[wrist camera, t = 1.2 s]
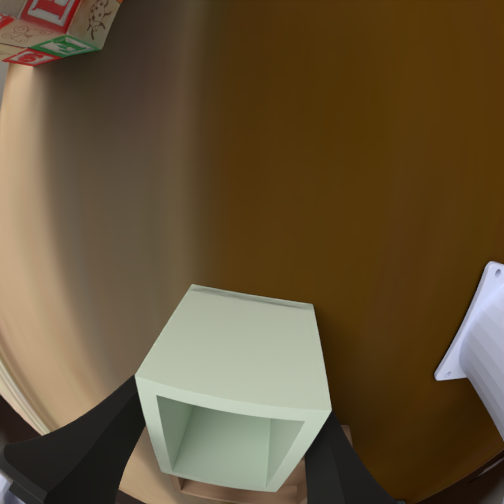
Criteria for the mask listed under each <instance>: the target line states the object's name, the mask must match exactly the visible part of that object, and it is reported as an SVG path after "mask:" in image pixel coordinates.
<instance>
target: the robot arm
mask: <svg viewBox="0 0 504 504" xmlns="http://www.w3.org/2000/svg"><path fill="white" fill-rule="evenodd" d="M434 377H435V378H436V380H448V379H457V378H465V377H468V379H469V380H470V382H471V384H472V385H473V387H474V388H475V390H476V392H477V393H478V395H479V397H480V398H481V400H482V402H483V403H484V405H485V407H486V409H487V410H488V412H489V414H490V416H491V418H492V419H493V421H494V423H495V425H496V427H497V429H498V431H499V433H500V435H501V437H502V439H503V441H504V265H503V264H500V263H496V262H493V261H492V262H489V263H488V264H487V265H486V267H485V269H484V272H483V275H482V278H481V280H480V283H479V286H478V288H477V291H476V293H475V296H474V298H473V300H472V303H471V305H470V307H469V309H468V312H467V314H466V316H465V318H464V320H463V322H462V324H461V326H460V328H459V330H458V332H457V334H456V336H455V338H454V340H453V342H452V344H451V346H450V347H449V349H448V351H447V353H446V355H445V356H444V358H443V360H442V361H441V363H440V365H439V366H438V368H437V370H436V371H435V373H434ZM145 425H146V421H145V417H144V414H143V410H142V406H141V402H140V397H139V393H138V389H137V384H136V379H135V375H132V376H131V377H130V378H129V379H128V380H127V381H126V382H125V383H123V384H122V385H121V386H120V387H119V388H118V389H117V390H115V391H114V392H113V393H112V394H111V395H109V396H108V397H107V398H106V399H104V400H103V401H102V402H101V403H99V404H98V405H97V406H96V407H94V408H93V409H91V410H90V411H88V412H87V413H86V414H84V415H83V416H81V417H79V418H78V419H76V420H75V421H73V422H71V423H69V424H67V425H66V426H64V427H62V428H59V429H57V430H55V431H53V432H51V433H48V434H46V435H43V436H40V437H37V438H34V439H31V440H27V441H23V442H18V443H13V444H7V445H6V446H4V448H3V449H2V451H1V452H0V469H1V470H2V471H3V472H4V473H5V474H6V475H8V477H10V478H11V479H12V480H13V482H12V481H10V480H9V479H7V478H6V477H5V476H4V475H3V474H2V473H0V504H114V503H115V498H116V495H117V491H118V488H119V485H120V481H121V478H122V475H123V472H124V469H125V467H126V464H127V462H128V460H129V458H130V456H131V454H132V452H133V450H134V448H135V445H136V443H137V441H138V439H139V437H140V435H141V433H142V431H143V429H144V427H145ZM304 460H305V472H306V485H307V504H399V503H398V502H397V501H395V500H394V499H393V498H392V497H391V496H390V495H389V494H388V493H387V492H386V491H385V490H384V489H383V488H382V487H381V486H380V485H379V484H378V483H377V481H376V480H375V479H374V478H373V476H372V475H371V474H370V473H369V471H368V470H367V469H366V467H365V466H364V464H363V463H362V461H361V460H360V458H359V457H358V455H357V454H356V452H355V450H354V449H353V447H352V445H351V444H350V442H349V440H348V438H347V436H346V435H345V433H344V431H343V429H342V427H341V425H340V423H339V421H338V419H337V417H336V415H335V413H334V411H333V409H332V411H331V413H330V414H329V416H328V418H327V419H326V421H325V423H324V424H323V426H322V428H321V429H320V431H319V433H318V434H317V436H316V437H315V439H314V440H313V442H312V443H311V445H310V447H309V448H308V450H307V451H306V452H305V454H304ZM502 504H504V498H503V501H502Z"/></svg>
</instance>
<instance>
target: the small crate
mask: <svg viewBox="0 0 504 504" xmlns="http://www.w3.org/2000/svg"><path fill="white" fill-rule="evenodd" d="M135 379H136V384H137V389H138V393H139V397H140V402H141V406H142V410H143V414H144V417H145V421H146V425H147V428H148V432H149V435H150V439H151V442H152V445H153V448H154V451H155V454H156V457H157V460H158V463H159V466H160V469H161V472H164V473H168V474H171V475H175V476H178V477H182V478H186V479H190V480H195V481H199V482H204V483H208V484H214V485H219V486H225V487H231V488H238V489H246V490H255V491H266V492H277V490H278V489H279V488H280V487H281V485H282V484H283V483H284V482H285V480H286V479H287V478H288V476H289V475H290V474H291V472H292V471H293V470H294V468H295V467H296V465H297V464H298V463H299V461H300V460H301V458H302V457H303V455H304V454H305V452H306V451H307V450H308V448H309V447H310V445H311V443H312V442H313V440H314V439H315V437H316V436H317V434H318V433H319V431H320V429H321V428H322V426H323V424H324V423H325V421H326V419H327V418H328V416H329V414H330V413H331V411H332V408H331V402H330V395H329V389H328V383H327V377H326V371H325V366H324V360H323V354H322V349H321V344H320V338H319V333H318V328H317V323H316V318H315V313H314V308H313V304H308V303H301V302H294V301H287V300H281V299H274V298H268V297H262V296H256V295H250V294H244V293H238V292H232V291H226V290H221V289H215V288H210V287H204V286H199V285H194V284H192V285H191V287H190V288H189V290H188V291H187V293H186V294H185V296H184V297H183V299H182V300H181V302H180V304H179V305H178V307H177V308H176V310H175V311H174V313H173V315H172V316H171V318H170V319H169V321H168V322H167V324H166V326H165V327H164V329H163V330H162V332H161V334H160V335H159V337H158V338H157V340H156V342H155V343H154V345H153V346H152V348H151V350H150V351H149V353H148V355H147V356H146V358H145V360H144V361H143V363H142V365H141V366H140V368H139V369H138V371H137V373H136V374H135Z"/></svg>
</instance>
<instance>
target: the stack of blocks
mask: <svg viewBox="0 0 504 504" xmlns="http://www.w3.org/2000/svg"><path fill="white" fill-rule="evenodd" d="M122 2H123V0H0V60H1V61H3V62H10V63H17V64H22V65H28V66H36V65H39V64H43V63H46V62H50V61H53V60H57V59H61V58H63V57H66V56H71V55H76V54H81V53H86V52H92V51H99V50H102V48H103V46H104V43H105V40H106V37H107V35H108V32H109V29H110V27H111V24H112V22H113V20H114V17H115V15H116V13H117V10H118V8H119V6H120V4H121V3H122Z"/></svg>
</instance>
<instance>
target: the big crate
mask: <svg viewBox="0 0 504 504" xmlns="http://www.w3.org/2000/svg"><path fill="white" fill-rule="evenodd" d="M341 427H342V429H343V431H344V433H345V435H346V436H347V438H348V440H349V442H350V444H351V445H352V439H351V434H350V428H349V425H341ZM352 447H353V445H352ZM169 476H170V479H171V482H172V485H173V488H174V491H178V492H182V493H186V494H190V495H194V496H199V497H203V498H208V499H213V500H219V501H225V502H232V503H239V504H307V485H306V472H305V460H304V455H303V457H302V458H301V460H300V461H299V463H298V464H297V465H296V467H295V468H294V470H293V471H292V472H291V474H290V475H289V476H288V478H287V479H286V480H285V482H284V483H283V484H282V485H281V487H280V488H279V489H278V490H277V492H266V491H255V490H246V489H238V488H231V487H225V486H219V485H214V484H208V483H204V482H199V481H195V480H190V479H186V478H182V477H178V476H175V475H171V474H169Z"/></svg>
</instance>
